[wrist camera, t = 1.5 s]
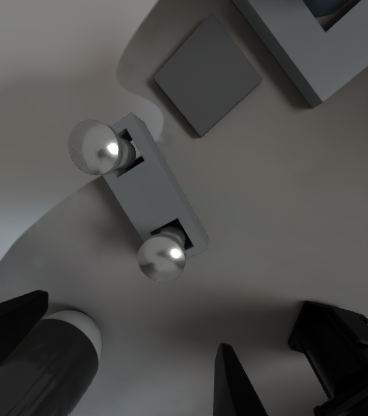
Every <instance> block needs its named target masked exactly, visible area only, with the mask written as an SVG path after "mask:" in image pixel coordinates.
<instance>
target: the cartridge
mask: <svg viewBox="0 0 368 416" xmlns="http://www.w3.org/2000/svg"><path fill="white" fill-rule="evenodd" d="M348 1H349V0H303V2H304V3H305V4H306V6H307V7H308V9H309V10H310V12H311V13H312V14H313V16H325V15H329V14H332V13H334V12H336V11H337V10H339V9H340V8H342V7H343V6H344V5H345V4H346V3H347V2H348Z"/></svg>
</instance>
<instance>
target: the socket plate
mask: <svg viewBox="0 0 368 416" xmlns="http://www.w3.org/2000/svg"><path fill="white" fill-rule="evenodd" d="M232 1H233V2H234V4H235V5H236V6H237V8H238V9H239V10H240V12H241V13H242V14H243V16H244V17H245V19H246V20H247V21H248V23H249V24H250V25H251V27H252V28H253V29H254V31H255V32H256V33H257V35H258V36H259V37H260V39H261V40H262V41H263V43H264V44H265V45H266V47H267V48H268V49H269V51H270V52H271V53H272V55H273V56H274V57H275V59H276V60H277V61H278V63H279V64H280V65H281V67H282V68H283V69H284V71H285V72H286V74H287V75H288V76H289V78H290V79H291V80H292V82H293V83H294V84H295V86H296V87H297V88H298V90H299V91H300V92H301V94H302V95H303V96H304V98H305V99H306V100H307V102H308V103H309V104H310V106H311V107H312V108H314V107H316V106H318V105H320V104H321V103H323V102H324V101H325V100H327V99H328V98H329V97H330V96H332V95H333V94H334V93H335V92H336V91H338V90H339V89H340V88H341V87H343V86H344V85H345V84H346V83H348V82H349V81H350V80H351V79H352V78H354V77H355V76H356V75H357V74H359V73H360V72H361V71H362V70H363V69H365V68H366V67H367V66H368V0H361V1H360V2H359V3H358V4H357V5H355V6H354V7H353V8H352V9H351V10H350V11H349V12H348V13H347V14H346V15H344V16H343V17H342V18H341V19H340V20H339V21H338V22H337V23H336V24H335V25H333V26H332V27H331V28H330V29H329V30H328V31H327V32H326V33H325V31H324V30H323V28H322V27H321V26H320V24H319V23H318V21H317V20H316V19H315V17H314V16H313V14H312V13H311V12H310V10H309V9H308V7H307V6H306V4H305V3H304V2H303V0H232Z"/></svg>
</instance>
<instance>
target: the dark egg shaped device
mask: <svg viewBox="0 0 368 416" xmlns="http://www.w3.org/2000/svg"><path fill="white" fill-rule="evenodd" d="M101 350H102V338H101V333H100V330H99V328H98V326H97V325H96V323H95V322H94V321H93V320H92V319H91V318H90V317H89V316H87V315H86V314H84V313H81V312H78V311H72V310H67V311H60V312H57V313H54V314H51V315H49V316H47V317H45V318H43V319H41V320H39V321H38V323H37V324H36V325H35V326H34V327H33V329H32V330H31V331H30V332H29V333H28V335H27V336H26V337H25V338H24V339H23V341H22V342H21V343H20V344H19V345H18V347H17V348H16V349H15V350H14V351H13V352H12V353H11V354H10V355H9V357H8V358H7V359H6V360H5V361H4V362H3V363H2V364H1V365H0V416H69V415H70V414H71V412H72V411H73V410H74V408H75V407H76V405H77V404H78V402H79V401H80V399H81V398H82V397H83V395H84V394H85V392H86V391H87V389H88V387H89V386H90V384H91V382H92V381H93V379H94V377H95V375H96V373H97V370H98V362H99V359H100V355H101Z"/></svg>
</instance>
